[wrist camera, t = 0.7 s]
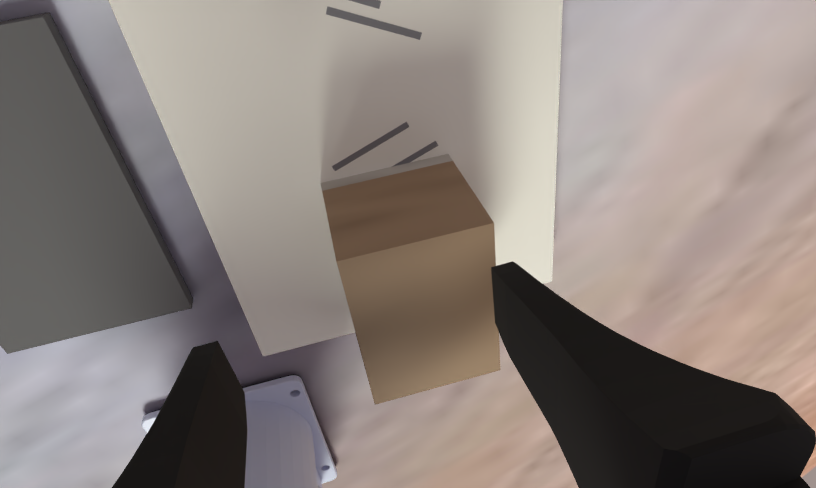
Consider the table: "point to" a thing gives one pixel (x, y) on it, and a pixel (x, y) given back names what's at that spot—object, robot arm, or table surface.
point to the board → (347, 127)
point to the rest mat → (68, 205)
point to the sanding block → (416, 274)
